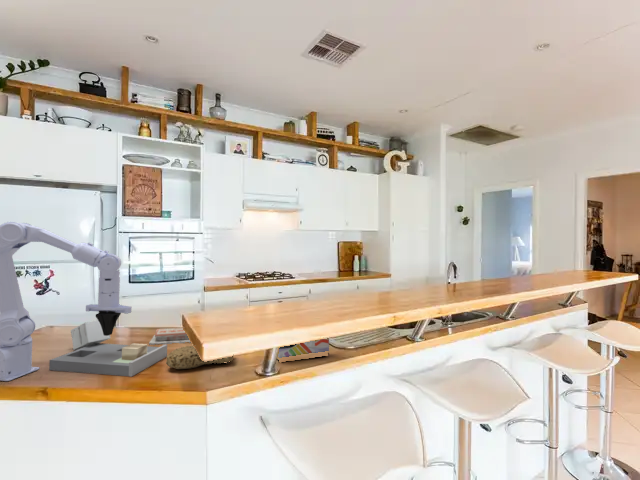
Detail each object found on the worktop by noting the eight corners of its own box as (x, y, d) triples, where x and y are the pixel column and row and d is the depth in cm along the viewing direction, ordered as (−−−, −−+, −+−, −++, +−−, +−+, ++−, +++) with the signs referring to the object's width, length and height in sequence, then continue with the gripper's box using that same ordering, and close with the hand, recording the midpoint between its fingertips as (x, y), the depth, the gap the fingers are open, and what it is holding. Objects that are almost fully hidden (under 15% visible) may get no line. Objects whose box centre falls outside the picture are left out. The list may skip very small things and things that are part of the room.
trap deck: (131, 376, 101) (132, 362, 101) (49, 370, 104) (49, 356, 104) (167, 356, 118) (167, 344, 118) (95, 351, 122) (95, 340, 122)
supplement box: (69, 330, 124) (84, 321, 118) (92, 326, 130) (108, 317, 124) (72, 350, 123) (88, 343, 116) (95, 345, 129) (111, 338, 122)
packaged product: (201, 325, 145) (199, 331, 135) (200, 336, 145) (198, 343, 135) (154, 326, 140) (148, 333, 131) (153, 338, 140) (148, 346, 131)
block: (136, 360, 105) (137, 349, 105) (121, 359, 106) (122, 348, 106) (147, 355, 110) (147, 344, 110) (132, 354, 111) (132, 343, 111)
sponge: (231, 359, 120) (171, 350, 116) (236, 339, 119) (176, 329, 115) (228, 381, 108) (161, 372, 103) (234, 358, 107) (166, 348, 102)
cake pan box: (276, 364, 113) (277, 310, 113) (272, 359, 118) (273, 307, 118) (329, 358, 120) (330, 307, 121) (324, 353, 125) (325, 304, 125)
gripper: (138, 291, 113) (137, 333, 113) (98, 289, 115) (97, 330, 115) (123, 294, 106) (121, 338, 106) (80, 292, 108) (79, 335, 108)
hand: (107, 334), depth 110 cm, fingers closed
